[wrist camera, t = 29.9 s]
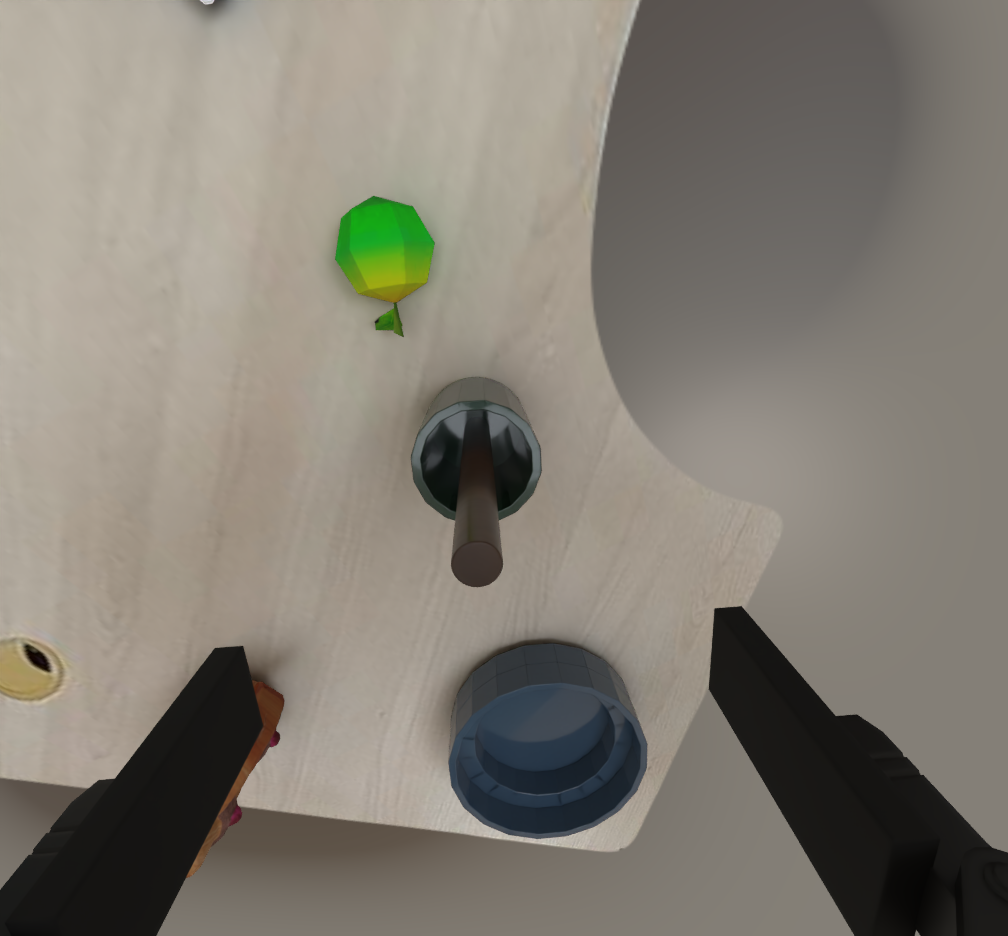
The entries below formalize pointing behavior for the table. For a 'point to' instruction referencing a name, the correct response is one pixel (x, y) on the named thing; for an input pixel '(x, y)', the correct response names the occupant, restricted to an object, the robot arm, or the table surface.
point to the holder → (444, 440)
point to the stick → (476, 511)
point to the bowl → (545, 742)
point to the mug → (246, 766)
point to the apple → (384, 253)
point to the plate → (207, 1)
